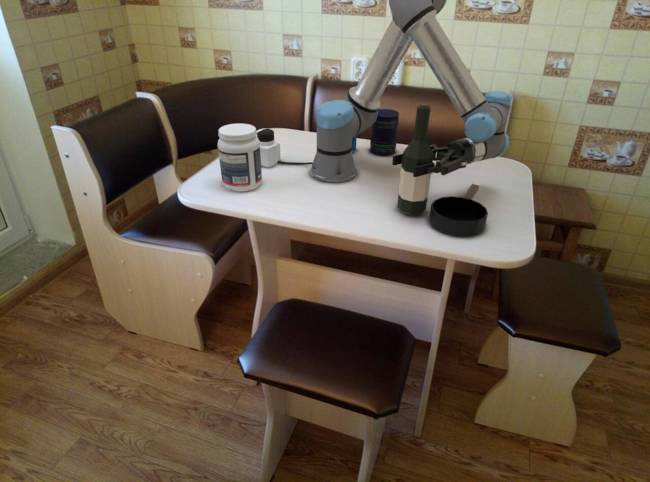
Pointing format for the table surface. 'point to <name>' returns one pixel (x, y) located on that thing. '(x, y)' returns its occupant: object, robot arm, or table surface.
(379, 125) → the storage jar
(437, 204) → the frying pan
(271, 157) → the medicine bottle
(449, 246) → the table surface
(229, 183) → the supplement tub
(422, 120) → the wine bottle
